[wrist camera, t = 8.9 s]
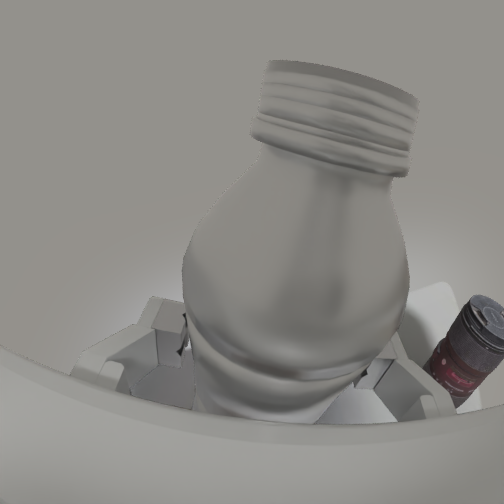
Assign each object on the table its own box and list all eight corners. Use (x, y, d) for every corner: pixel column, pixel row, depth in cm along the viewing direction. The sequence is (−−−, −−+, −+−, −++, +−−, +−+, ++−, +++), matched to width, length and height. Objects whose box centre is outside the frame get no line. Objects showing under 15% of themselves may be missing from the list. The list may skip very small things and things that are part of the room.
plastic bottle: (178, 419, 18) (189, 61, 8) (273, 411, 19) (378, 100, 9) (190, 506, 12) (206, 19, 2) (299, 489, 14) (527, 151, 4)
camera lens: (416, 429, 27) (493, 342, 20) (399, 379, 34) (456, 290, 27) (460, 419, 28) (530, 338, 20) (441, 375, 35) (496, 294, 27)
